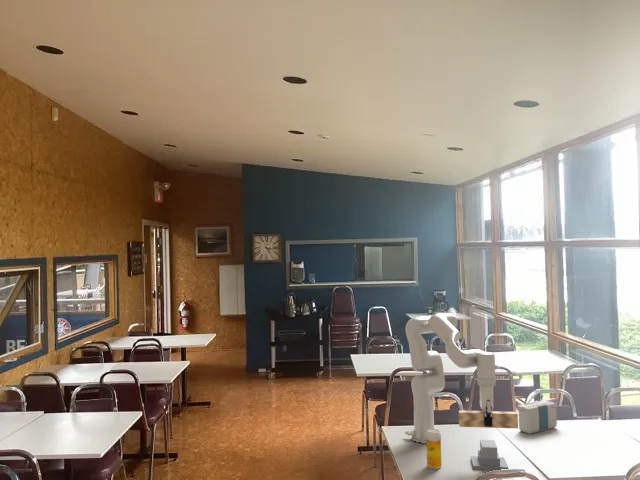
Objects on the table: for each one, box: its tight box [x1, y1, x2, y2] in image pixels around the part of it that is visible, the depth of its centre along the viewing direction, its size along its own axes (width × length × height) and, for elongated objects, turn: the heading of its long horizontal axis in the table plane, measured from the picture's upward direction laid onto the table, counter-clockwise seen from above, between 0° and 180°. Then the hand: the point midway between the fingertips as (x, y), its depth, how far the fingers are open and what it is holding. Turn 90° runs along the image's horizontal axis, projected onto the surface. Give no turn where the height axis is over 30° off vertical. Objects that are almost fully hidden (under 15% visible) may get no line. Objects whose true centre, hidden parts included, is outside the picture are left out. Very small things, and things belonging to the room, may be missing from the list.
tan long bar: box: [458, 410, 519, 429], centre depth 239 cm, size 24×4×6 cm, turn 80°
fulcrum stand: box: [470, 439, 509, 471], centre depth 238 cm, size 14×12×9 cm
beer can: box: [425, 428, 442, 470], centre depth 238 cm, size 6×6×15 cm
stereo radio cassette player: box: [517, 388, 558, 435], centre depth 287 cm, size 21×8×20 cm, turn 119°
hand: (487, 424), depth 239 cm, fingers closed on tan long bar, 3 cm apart
